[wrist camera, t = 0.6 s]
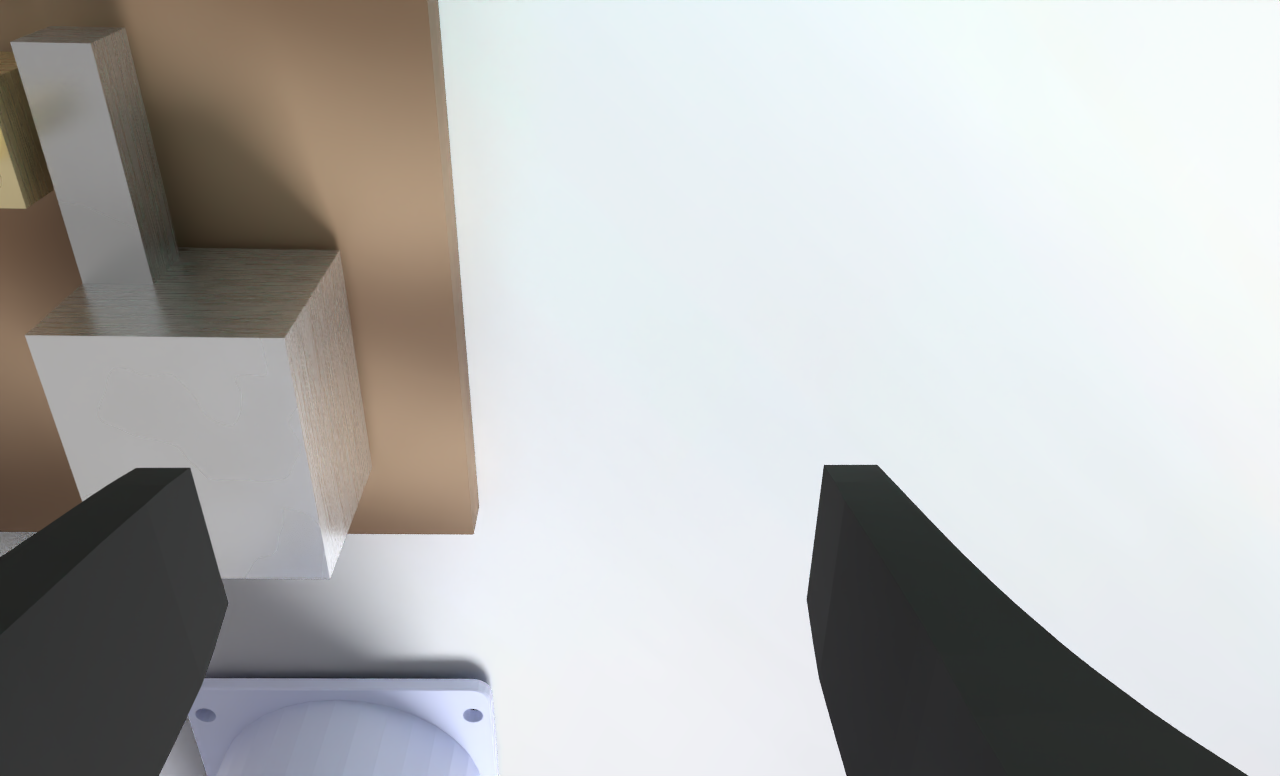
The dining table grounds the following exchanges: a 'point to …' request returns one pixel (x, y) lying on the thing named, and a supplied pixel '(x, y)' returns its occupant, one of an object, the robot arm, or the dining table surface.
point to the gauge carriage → (189, 334)
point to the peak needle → (19, 143)
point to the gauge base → (279, 221)
